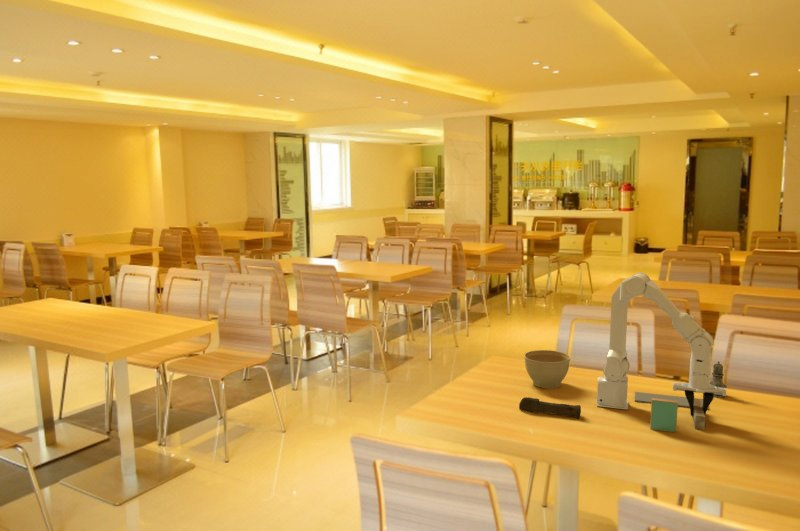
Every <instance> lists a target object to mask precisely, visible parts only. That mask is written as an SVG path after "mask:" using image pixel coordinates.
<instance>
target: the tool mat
mask: <svg viewBox="0 0 800 531" xmlns="http://www.w3.org/2000/svg"><path fill="white" fill-rule="evenodd" d="M652 398H655V399H664V400H673V401H678V407H679V408H680V407H681V408H689V409H690V406H689V403H688V400H687V398H686V396H680V395H679V396H677V395H671V394H670V395H669V394H658V393H650V392H649V393H648V392H640V391H635V392H634V402H635V403H636V402H637V403H643V404H651V400H652ZM694 399H700V400H701V404H702V407H703V398H695V397H694ZM707 411H709V408H708V409H707Z"/></svg>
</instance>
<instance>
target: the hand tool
mask: <svg viewBox="0 0 800 531" xmlns="http://www.w3.org/2000/svg"><path fill="white" fill-rule="evenodd" d="M518 404H519V405H518V408H519V410H520V411H522V412H526V411H527V413H533V414H538V413H545V414H552V415H553V414H554V415H558V416H559V415H560V416H565V417H575V418H577V420H579V419H580V417H581V413H582V408H581V405H580V404H577V405H573V404H568V403H557V402H556V403H555V402H548V401H543V400H540V399H539V398H533V397H522V399H521V400H520V402H519V403H518Z"/></svg>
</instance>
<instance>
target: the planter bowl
mask: <svg viewBox="0 0 800 531" xmlns="http://www.w3.org/2000/svg"><path fill="white" fill-rule="evenodd" d="M523 356H524V358H523V359H524V365H525V370H526V372H527V375H528V376H529V378H530V380H532V384H533V385H534V386H535V387H537V388H540V387H541V389H556V388H559V387H560V386H561V383H562V382H563V380H564V379H565V378H566V376H567V374H568V372H569V368H570V361H571V356H570V355H569V354H567V353H565V352H562V351H558V350H552V349H551V350H550V349H538V350H530V351H527V352H525V353H524V355H523Z"/></svg>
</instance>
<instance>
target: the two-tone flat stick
mask: <svg viewBox="0 0 800 531" xmlns="http://www.w3.org/2000/svg"><path fill="white" fill-rule="evenodd" d="M700 399H701V398H698V399H694V405H693V409H694V414H693V416H691V418H692V422H693V427H694V429H695V430H701V431H705V428H706V427H705V425H706V424H705V423H706V414H705V415H704V411H703V408H702V404H701V400H700Z"/></svg>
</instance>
